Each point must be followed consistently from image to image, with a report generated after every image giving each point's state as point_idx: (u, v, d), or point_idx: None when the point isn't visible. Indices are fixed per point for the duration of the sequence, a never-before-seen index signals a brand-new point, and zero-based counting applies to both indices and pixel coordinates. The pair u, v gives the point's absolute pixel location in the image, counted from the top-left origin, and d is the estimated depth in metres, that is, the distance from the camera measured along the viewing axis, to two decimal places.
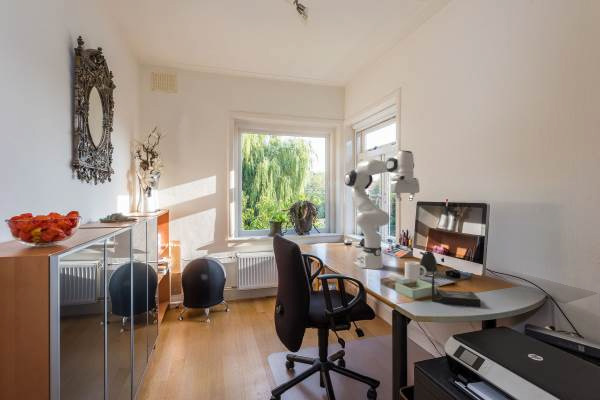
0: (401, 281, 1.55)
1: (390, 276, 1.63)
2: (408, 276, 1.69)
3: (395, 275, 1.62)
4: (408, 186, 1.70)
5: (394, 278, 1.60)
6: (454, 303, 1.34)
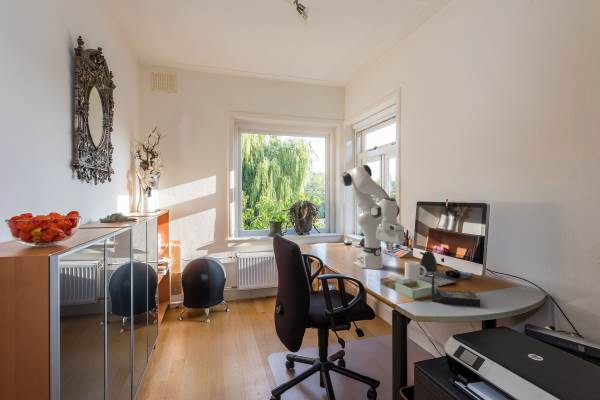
0: (401, 281, 1.55)
1: (390, 276, 1.63)
2: (408, 276, 1.69)
3: (395, 275, 1.62)
4: None
5: (394, 278, 1.60)
6: (454, 303, 1.34)
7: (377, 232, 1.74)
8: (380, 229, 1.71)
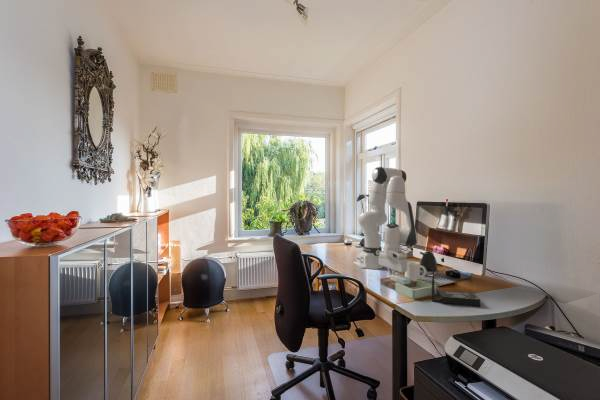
0: (402, 281, 1.55)
1: (391, 276, 1.62)
2: (408, 276, 1.69)
3: (396, 275, 1.61)
4: None
5: (395, 279, 1.59)
6: (454, 303, 1.34)
7: (380, 258, 1.72)
8: (383, 255, 1.69)
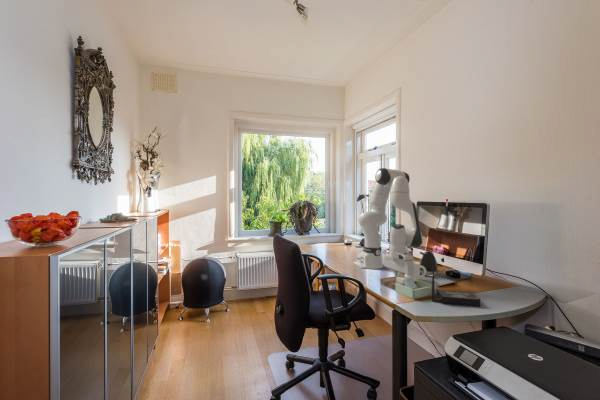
0: None
1: (397, 279, 1.58)
2: (408, 276, 1.69)
3: (402, 278, 1.57)
4: None
5: (401, 281, 1.55)
6: (454, 303, 1.34)
7: (385, 259, 1.68)
8: (388, 256, 1.65)
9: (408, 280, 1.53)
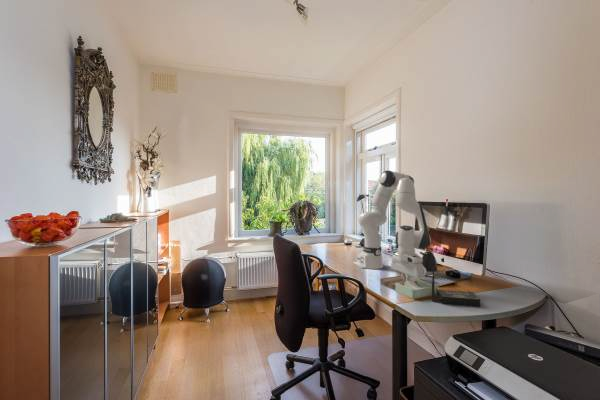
0: None
1: (406, 283, 1.52)
2: None
3: (411, 284, 1.51)
4: None
5: None
6: (454, 303, 1.34)
7: (392, 262, 1.62)
8: (396, 259, 1.59)
9: None
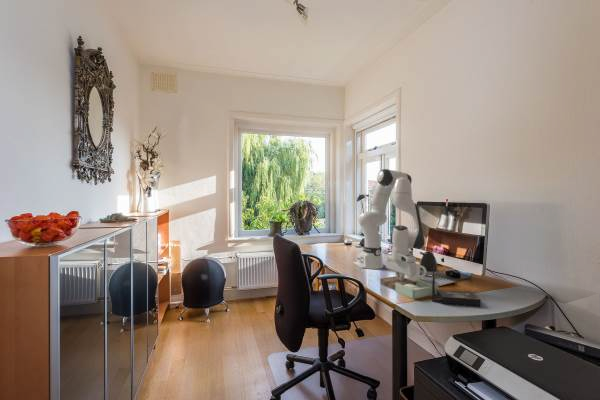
0: None
1: None
2: (408, 276, 1.69)
3: (410, 285, 1.52)
4: None
5: None
6: (454, 303, 1.34)
7: (387, 260, 1.66)
8: (390, 258, 1.64)
9: None
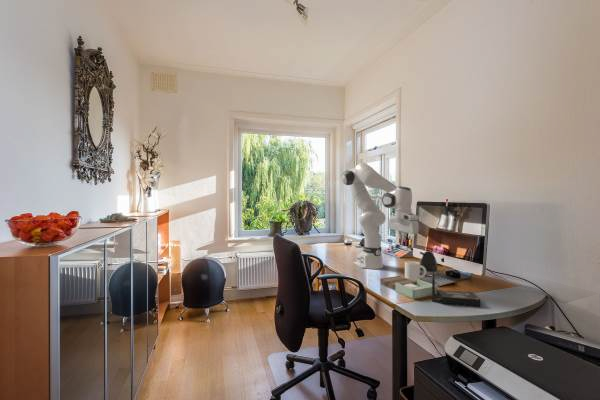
0: None
1: None
2: (408, 276, 1.69)
3: (410, 285, 1.52)
4: None
5: None
6: (454, 303, 1.34)
7: (390, 222, 1.70)
8: (393, 219, 1.68)
9: None
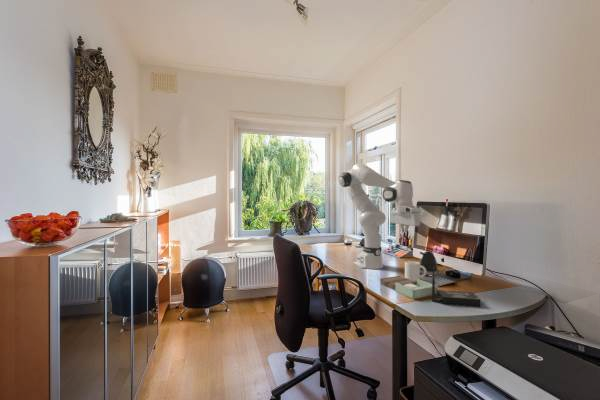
0: None
1: None
2: (408, 276, 1.69)
3: (410, 285, 1.52)
4: None
5: None
6: (454, 303, 1.34)
7: (391, 216, 1.72)
8: (395, 212, 1.70)
9: None
